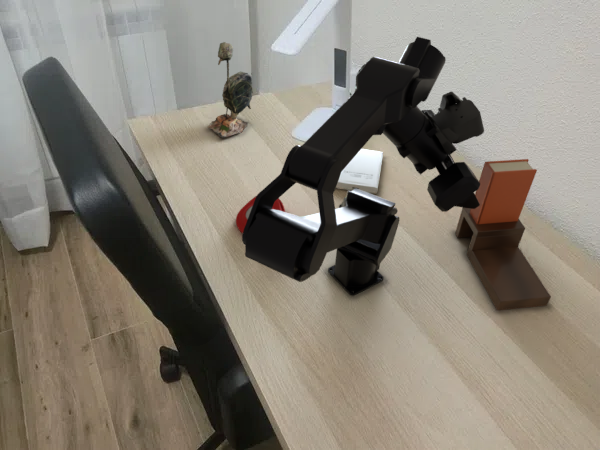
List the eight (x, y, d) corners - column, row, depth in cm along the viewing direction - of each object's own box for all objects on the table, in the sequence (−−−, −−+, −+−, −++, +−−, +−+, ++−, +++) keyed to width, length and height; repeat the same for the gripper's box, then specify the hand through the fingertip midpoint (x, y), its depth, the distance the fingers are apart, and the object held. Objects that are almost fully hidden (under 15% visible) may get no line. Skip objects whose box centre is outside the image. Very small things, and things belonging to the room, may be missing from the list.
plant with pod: (264, 127, 120) (263, 37, 107) (218, 142, 115) (211, 49, 102) (245, 111, 125) (241, 24, 112) (200, 125, 120) (191, 35, 107)
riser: (497, 310, 82) (508, 282, 78) (454, 233, 95) (462, 206, 91) (546, 305, 83) (560, 277, 79) (498, 229, 96) (507, 202, 92)
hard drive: (382, 158, 112) (376, 194, 103) (342, 152, 113) (333, 188, 104) (383, 151, 111) (377, 187, 102) (343, 146, 112) (334, 181, 103)
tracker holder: (225, 229, 92) (246, 185, 98) (234, 245, 95) (254, 202, 101) (291, 235, 87) (309, 188, 93) (298, 252, 91) (315, 206, 96)
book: (476, 224, 88) (492, 172, 81) (469, 212, 90) (484, 161, 84) (517, 221, 89) (537, 170, 82) (509, 209, 91) (527, 158, 84)
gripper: (483, 124, 66) (540, 192, 74) (433, 58, 80) (486, 122, 88) (408, 181, 70) (471, 240, 78) (373, 109, 84) (430, 165, 92)
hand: (465, 187), depth 84 cm, fingers open, 9 cm apart
